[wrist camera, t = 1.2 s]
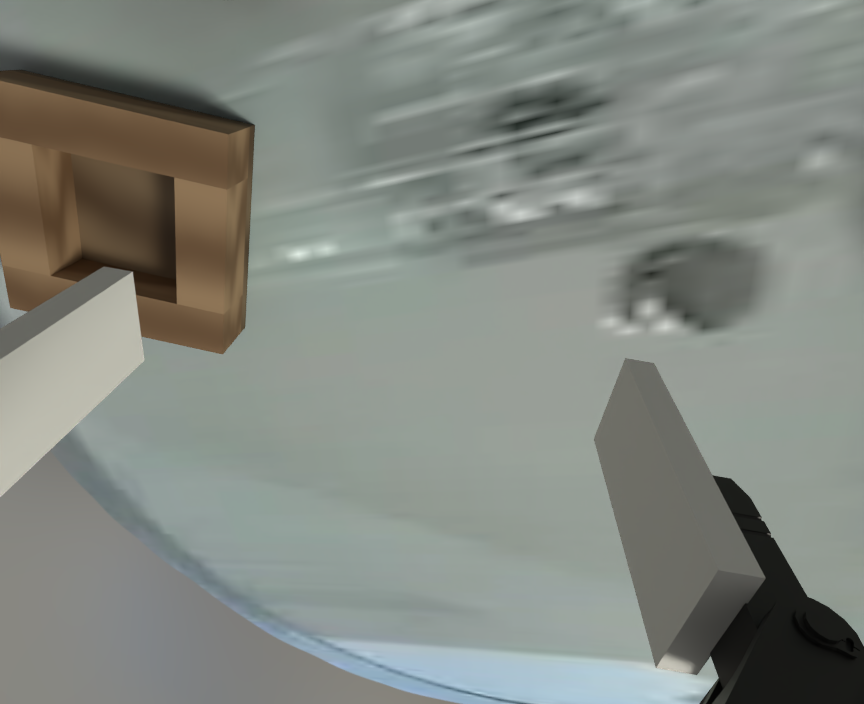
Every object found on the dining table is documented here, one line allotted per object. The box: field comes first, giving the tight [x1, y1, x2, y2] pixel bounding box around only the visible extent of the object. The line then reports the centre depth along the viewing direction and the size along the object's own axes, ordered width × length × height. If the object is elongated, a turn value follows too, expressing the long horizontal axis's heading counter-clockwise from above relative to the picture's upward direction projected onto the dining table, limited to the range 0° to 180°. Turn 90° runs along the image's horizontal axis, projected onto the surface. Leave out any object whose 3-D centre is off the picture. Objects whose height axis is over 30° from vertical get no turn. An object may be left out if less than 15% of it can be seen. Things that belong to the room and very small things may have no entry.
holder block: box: [0, 70, 255, 354], centre depth 34 cm, size 14×14×4 cm
